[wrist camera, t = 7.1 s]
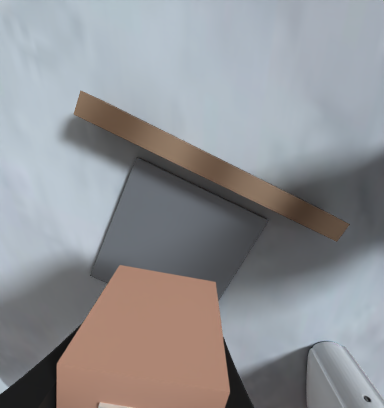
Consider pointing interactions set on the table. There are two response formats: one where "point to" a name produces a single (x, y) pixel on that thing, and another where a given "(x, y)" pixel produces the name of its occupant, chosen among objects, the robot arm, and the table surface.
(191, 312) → the marked cube
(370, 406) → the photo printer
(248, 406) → the robot arm
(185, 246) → the slate mat
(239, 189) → the walnut board
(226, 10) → the table surface
